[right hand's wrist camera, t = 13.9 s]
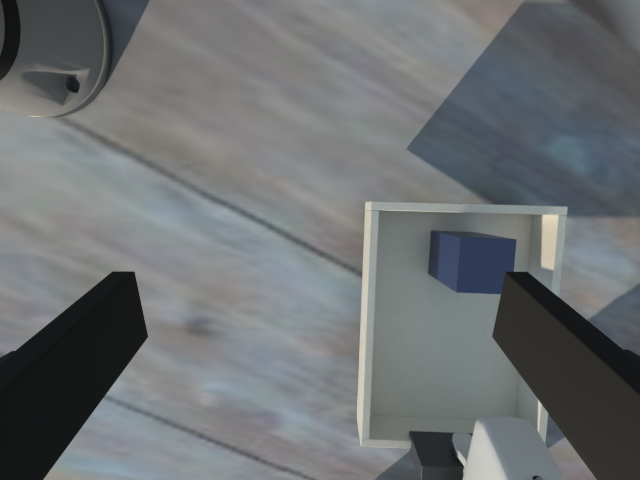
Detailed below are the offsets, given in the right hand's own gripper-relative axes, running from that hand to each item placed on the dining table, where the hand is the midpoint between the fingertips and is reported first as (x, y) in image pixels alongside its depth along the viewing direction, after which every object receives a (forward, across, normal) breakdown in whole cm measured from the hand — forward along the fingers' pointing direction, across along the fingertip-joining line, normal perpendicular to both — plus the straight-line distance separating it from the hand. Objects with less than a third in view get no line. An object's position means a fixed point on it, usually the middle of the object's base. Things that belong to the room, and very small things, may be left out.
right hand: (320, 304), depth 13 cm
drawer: (+21, +13, -14) cm, 29 cm away
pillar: (+22, +13, -8) cm, 27 cm away
